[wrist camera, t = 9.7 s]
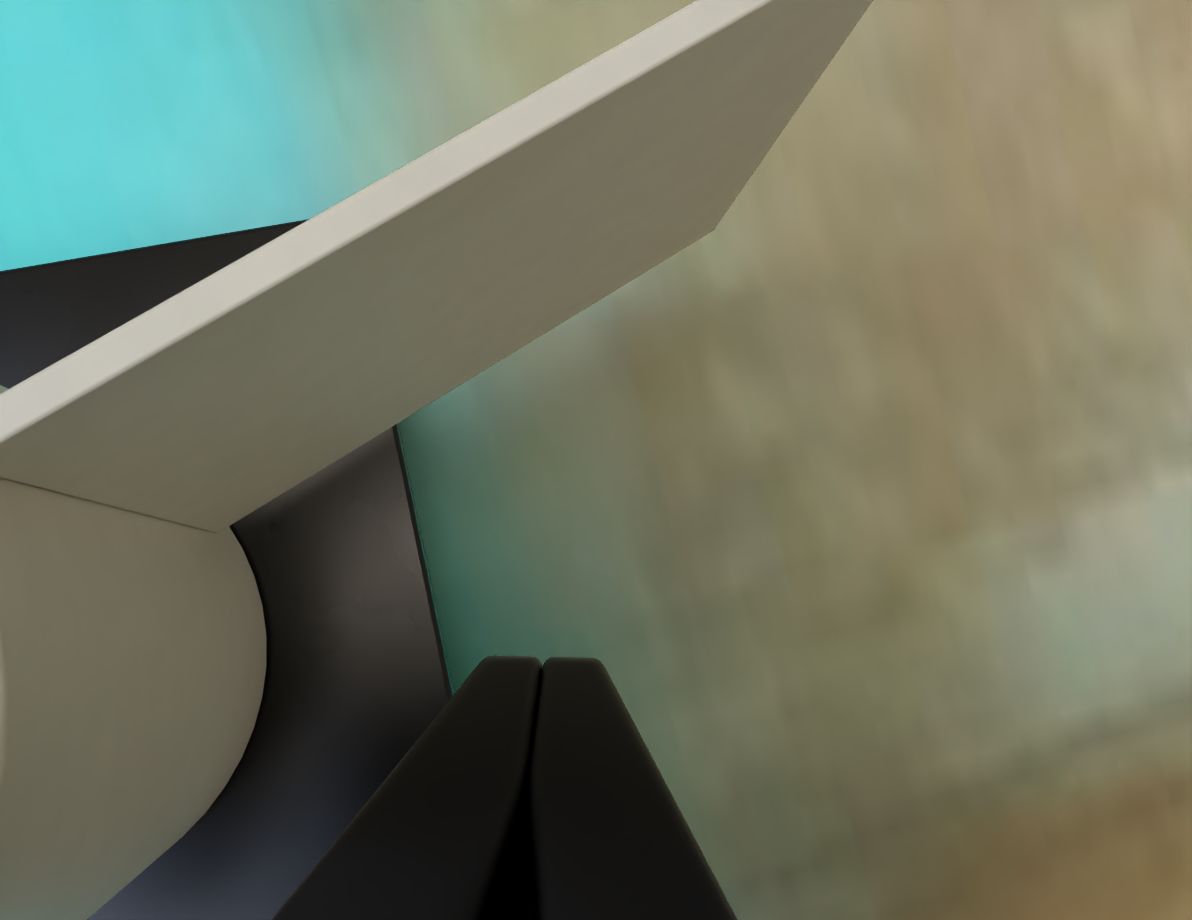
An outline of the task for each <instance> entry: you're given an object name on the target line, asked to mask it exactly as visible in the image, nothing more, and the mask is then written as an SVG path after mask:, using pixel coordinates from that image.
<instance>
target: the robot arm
mask: <svg viewBox="0 0 1192 920" xmlns="http://www.w3.org/2000/svg"><path fill="white" fill-rule="evenodd" d="M272 920H737V918H736V916H735V914H734V912H733V910H732V908H731V906H730V905H729V903H728V901H727V899H726V897H725V895H724V893H723V891H722V889H721V887H720V886H719V884H718V882H717V880H716V878H715V876H714V874H713V872H712V870H711V868H710V867H709V865H708V863H707V861H706V859H705V857H704V855H703V853H702V851H701V849H700V847H699V846H698V844H697V842H696V840H695V838H694V836H693V834H692V832H691V830H690V828H689V827H688V825H687V823H686V821H685V819H684V817H683V815H682V813H681V811H680V809H679V807H678V806H677V804H676V802H675V800H674V798H673V796H672V794H671V792H670V790H669V788H668V787H667V785H666V783H665V781H664V779H663V777H662V775H661V773H660V771H659V769H658V767H657V766H656V764H655V762H654V760H653V758H652V756H651V754H650V752H649V750H648V748H647V747H646V745H645V743H644V741H643V739H642V737H641V735H640V733H639V731H638V729H637V727H636V726H635V724H634V722H633V720H632V718H631V716H630V714H629V712H628V710H627V708H626V707H625V705H624V703H623V701H622V699H621V697H620V695H619V693H618V691H617V689H616V688H615V686H614V684H613V682H612V680H611V678H610V676H609V674H608V672H607V670H606V668H605V667H604V665H603V664H602V663H601V662H600V661H599V660H597V659H595V658H580V657H550V658H549V659H547V660H546V661H545V663H544V664H543V668H542V663H541V662H540V660H539V659H538V658H536V657H533V656H497V655H493V656H488V657H486V658H485V659H483V660H482V661H481V662H480V663H479V665H478V666H477V667H476V668H475V669H474V671H473V672H472V673H471V674H470V676H469V677H468V678H467V679H466V681H465V682H464V683H463V684H462V686H461V687H460V688H459V689H458V690H457V692H456V693H455V694H454V695H453V697H452V698H451V699H450V700H449V702H448V703H447V704H446V705H445V706H444V708H443V709H442V710H441V711H440V713H439V714H438V715H437V716H436V718H435V719H434V720H433V721H432V722H431V724H430V725H429V726H428V727H427V729H426V730H425V731H424V732H423V734H422V735H421V736H420V737H419V738H418V740H417V741H416V742H415V743H414V745H413V746H412V747H411V748H410V750H409V751H408V752H407V753H406V754H405V756H404V757H403V758H402V759H401V761H400V762H399V763H398V764H397V766H396V767H395V768H394V769H393V770H392V772H391V773H390V774H389V775H388V777H387V778H386V779H385V780H384V782H383V783H382V784H381V785H380V787H379V788H378V789H377V790H376V791H375V793H374V794H373V795H372V796H371V798H370V799H369V800H368V801H367V803H366V804H365V805H364V806H363V807H362V809H361V810H360V811H359V812H358V814H357V815H356V816H355V817H354V819H353V820H352V821H351V822H350V823H349V825H348V826H347V827H346V828H345V830H344V831H343V832H342V833H341V835H340V836H339V837H338V838H337V839H336V841H335V842H334V843H333V844H332V846H331V847H330V848H329V849H328V851H327V852H326V853H325V854H324V855H323V857H322V858H321V859H320V860H319V862H318V863H317V864H316V865H315V867H314V868H313V869H312V870H311V871H310V873H309V874H308V875H307V876H306V878H305V879H304V880H303V881H302V883H301V884H300V885H299V886H298V888H297V889H296V890H295V891H294V892H293V894H292V895H291V896H290V897H289V899H288V900H287V901H286V902H285V904H284V905H283V906H282V907H281V908H280V910H279V911H278V912H277V913H276V915H275V916H274V917H273V918H272Z"/></svg>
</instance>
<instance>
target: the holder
mask: <svg viewBox="0 0 1192 920" xmlns="http://www.w3.org/2000/svg"><path fill="white" fill-rule="evenodd" d="M308 220H309V219H308ZM306 221H307V220H302V221H296V222H290V223H284V224H278V225H272V226H266V227H260V228H254V229H248V230H242V231H236V232H231V233H225V234H219V235H213V236H207V237H201V238H195V239H189V240H183V241H177V242H171V243H165V244H159V245H153V246H148V247H142V248H136V249H130V250H124V251H118V252H112V253H106V254H100V255H94V256H88V257H82V258H76V259H70V260H65V261H59V262H53V263H47V264H41V265H35V266H29V267H23V268H17V269H11V270H5V271H0V385H1V386H3V387H6V388H8V389H10V388H12V387H14V386H15V385H17V384H19V383H21V382H22V381H24V380H26V379H28V378H30V377H31V376H33V375H35V374H37V373H38V372H40V371H42V370H44V369H45V368H47V367H49V366H51V365H53V364H54V363H56V362H58V361H60V360H61V359H63V358H65V357H67V356H68V355H70V354H72V353H74V352H76V351H77V350H79V349H81V348H83V347H84V346H86V345H88V344H90V343H91V342H93V341H95V340H97V339H99V338H100V337H102V336H104V335H106V334H107V333H109V332H111V331H113V330H115V329H116V328H118V327H120V326H122V325H123V324H125V323H127V322H129V321H130V320H132V319H134V318H136V317H138V316H139V315H141V314H143V313H145V312H146V311H148V310H150V309H152V308H153V307H155V306H157V305H159V304H161V303H162V302H164V301H166V300H168V299H169V298H171V297H173V296H175V295H176V294H178V293H180V292H182V291H184V290H185V289H187V288H189V287H191V286H192V285H194V284H196V283H198V282H199V281H201V280H203V279H205V278H207V277H208V276H210V275H212V274H214V273H215V272H217V271H219V270H221V269H222V268H224V267H226V266H228V265H230V264H231V263H233V262H235V261H237V260H238V259H240V258H242V257H244V256H245V255H247V254H249V253H251V252H253V251H254V250H256V249H258V248H260V247H261V246H263V245H265V244H267V243H268V242H270V241H272V240H274V239H276V238H277V237H279V236H281V235H283V234H284V233H286V232H288V231H290V230H291V229H293V228H295V227H297V226H299V225H300V224H302V223H304V222H306ZM229 527H230V529H231V530H232V532H233V534H234V535H235V537H236V539H237V540H238V542H239V544H240V545H241V547H242V549H243V551H244V553H245V556H246V558H247V560H248V563H249V565H250V567H251V570H252V572H253V574H254V577H255V580H256V584H257V588H258V591H259V595H260V599H261V602H262V606H263V614H264V621H265V629H266V673H265V681H264V688H263V695H262V700H261V704H260V708H259V711H258V715H257V719H256V722H255V726H254V729H253V732H252V734H251V736H250V739H249V741H248V744H247V746H246V749H245V751H244V753H243V756H242V758H241V760H240V762H239V763H238V765H237V767H236V769H235V770H234V772H233V774H232V776H231V777H230V779H229V781H228V783H227V784H226V786H225V787H224V789H223V790H222V792H221V793H220V794H219V796H218V797H217V798H216V800H215V801H214V802H213V804H212V805H211V806H210V808H209V809H208V810H207V812H206V813H205V814H204V815H203V816H202V817H201V818H200V819H199V820H198V821H197V822H196V823H195V824H194V825H193V826H192V827H191V828H190V829H189V831H188V832H187V833H186V834H185V835H184V836H183V837H182V838H180V839H179V840H178V841H177V842H176V843H175V844H174V845H172V846H171V847H170V848H169V849H168V850H167V851H165V852H164V853H163V854H162V855H161V856H160V857H159V858H157V859H156V860H155V861H154V862H153V863H152V864H151V865H149V866H148V867H147V868H146V869H145V870H144V871H142V872H141V873H140V874H139V875H138V876H137V877H136V878H134V879H133V880H132V881H131V882H130V883H129V884H127V885H126V886H125V887H124V888H123V889H122V890H121V891H119V892H118V893H117V894H116V895H115V896H114V897H112V898H111V899H110V900H109V901H108V902H107V903H106V904H104V905H103V906H102V907H101V908H100V909H99V910H97V911H96V912H95V913H94V914H93V915H92V916H91V917H89V918H88V919H87V920H272V918H273V917H274V916H275V915H276V913H277V912H278V911H279V910H280V908H281V907H282V906H283V905H284V904H285V902H286V901H287V900H288V899H289V897H290V896H291V895H292V894H293V892H294V891H295V890H296V889H297V888H298V886H299V885H300V884H301V883H302V881H303V880H304V879H305V878H306V876H307V875H308V874H309V873H310V871H311V870H312V869H313V868H314V867H315V865H316V864H317V863H318V862H319V860H320V859H321V858H322V857H323V855H324V854H325V853H326V852H327V851H328V849H329V848H330V847H331V846H332V844H333V843H334V842H335V841H336V839H337V838H338V837H339V836H340V835H341V833H342V832H343V831H344V830H345V828H346V827H347V826H348V825H349V823H350V822H351V821H352V820H353V819H354V817H355V816H356V815H357V814H358V812H359V811H360V810H361V809H362V807H363V806H364V805H365V804H366V803H367V801H368V800H369V799H370V798H371V796H372V795H373V794H374V793H375V791H376V790H377V789H378V788H379V787H380V785H381V784H382V783H383V782H384V780H385V779H386V778H387V777H388V775H389V774H390V773H391V772H392V770H393V769H394V768H395V767H396V766H397V764H398V763H399V762H400V761H401V759H402V758H403V757H404V756H405V754H406V753H407V752H408V751H409V750H410V748H411V747H412V746H413V745H414V743H415V742H416V741H417V740H418V738H419V737H420V736H421V735H422V734H423V732H424V731H425V730H426V729H427V727H428V726H429V725H430V724H431V722H432V721H433V720H434V719H435V718H436V716H437V715H438V714H439V713H440V711H441V710H442V709H443V708H444V706H445V705H446V704H447V703H448V702H449V700H450V699H451V698H452V697H453V695H454V692H453V687H452V683H451V678H450V673H449V668H448V663H447V658H446V653H445V649H444V644H443V639H442V634H441V629H440V624H439V619H438V615H437V610H436V605H435V600H434V595H433V590H432V585H431V581H430V576H429V571H428V566H427V561H426V556H425V551H424V547H423V542H422V537H421V532H420V527H419V522H418V517H417V513H416V508H415V503H414V498H413V493H412V488H411V483H410V479H409V474H408V469H407V464H406V459H405V454H404V449H403V444H402V440H401V435H400V430H399V425H398V423H397V424H395V425H394V426H392V427H391V428H389V429H387V430H386V431H384V432H382V433H381V434H379V435H377V436H376V437H374V438H373V439H371V440H369V441H368V442H366V443H364V444H363V445H361V446H359V447H358V448H356V449H355V450H353V451H351V452H350V453H348V454H346V455H345V456H343V457H341V458H340V459H338V460H336V461H335V462H333V463H332V464H330V465H328V466H327V467H325V468H323V469H322V470H320V471H318V472H317V473H315V474H314V475H312V476H310V477H309V478H307V479H305V480H304V481H302V482H300V483H299V484H297V485H296V486H294V487H292V488H291V489H289V490H287V491H286V492H284V493H282V494H281V495H279V496H278V497H276V498H274V499H273V500H271V501H269V502H268V503H266V504H264V505H263V506H261V507H259V508H258V509H256V510H255V511H253V512H251V513H250V514H248V515H246V516H245V517H243V518H241V519H240V520H238V521H237V522H235V523H233V524H232V525H230V526H229Z"/></svg>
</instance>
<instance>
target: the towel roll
mask: <svg viewBox="0 0 1192 920" xmlns="http://www.w3.org/2000/svg"><path fill="white" fill-rule="evenodd" d="M872 1H873V0H697V1H695V2H693V3H691V4H690V5H688V6H686V7H684V8H683V9H681V10H679V11H677V12H676V13H674V14H672V15H670V16H668V17H667V18H665V19H663V20H661V21H660V22H658V23H656V24H654V25H652V26H651V27H649V28H647V29H645V30H644V31H642V32H640V33H638V34H637V35H635V36H633V37H631V38H629V39H628V40H626V41H624V42H622V43H621V44H619V45H617V46H615V47H614V48H612V49H610V50H608V51H606V52H605V53H603V54H601V55H599V56H598V57H596V58H594V59H592V60H591V61H589V62H587V63H585V64H583V65H582V66H580V67H578V68H576V69H575V70H573V71H571V72H569V73H568V74H566V75H564V76H562V77H560V78H559V79H557V80H555V81H553V82H552V83H550V84H548V85H546V86H545V87H543V88H541V89H539V90H537V91H536V92H534V93H532V94H530V95H529V96H527V97H525V98H523V99H522V100H520V101H518V102H516V103H514V104H513V105H511V106H509V107H507V108H506V109H504V110H502V111H500V112H499V113H497V114H495V115H493V116H491V117H490V118H488V119H486V120H484V121H483V122H481V123H479V124H477V125H476V126H474V127H472V128H470V129H468V130H467V131H465V132H463V133H461V134H460V135H458V136H456V137H454V138H453V139H451V140H449V141H447V142H445V143H444V144H442V145H440V146H438V147H437V148H435V149H433V150H431V151H430V152H428V153H426V154H424V155H422V156H421V157H419V158H417V159H415V160H414V161H412V162H410V163H408V164H407V165H405V166H403V167H401V168H399V169H398V170H396V171H394V172H392V173H391V174H389V175H387V176H385V177H384V178H382V179H380V180H378V181H376V182H375V183H373V184H371V185H369V186H368V187H366V188H364V189H362V190H360V191H359V192H357V193H355V194H353V195H352V196H350V197H348V198H346V199H345V200H343V201H341V202H339V203H337V204H336V205H334V206H332V207H330V208H329V209H327V210H325V211H323V212H322V213H320V214H318V215H316V216H314V217H313V218H311V219H309V220H307V221H306V222H304V223H302V224H300V225H299V226H297V227H295V228H293V229H291V230H290V231H288V232H286V233H284V234H283V235H281V236H279V237H277V238H276V239H274V240H272V241H270V242H268V243H267V244H265V245H263V246H261V247H260V248H258V249H256V250H254V251H253V252H251V253H249V254H247V255H245V256H244V257H242V258H240V259H238V260H237V261H235V262H233V263H231V264H230V265H228V266H226V267H224V268H222V269H221V270H219V271H217V272H215V273H214V274H212V275H210V276H208V277H207V278H205V279H203V280H201V281H199V282H198V283H196V284H194V285H192V286H191V287H189V288H187V289H185V290H184V291H182V292H180V293H178V294H176V295H175V296H173V297H171V298H169V299H168V300H166V301H164V302H162V303H161V304H159V305H157V306H155V307H153V308H152V309H150V310H148V311H146V312H145V313H143V314H141V315H139V316H138V317H136V318H134V319H132V320H130V321H129V322H127V323H125V324H123V325H122V326H120V327H118V328H116V329H115V330H113V331H111V332H109V333H107V334H106V335H104V336H102V337H100V338H99V339H97V340H95V341H93V342H91V343H90V344H88V345H86V346H84V347H83V348H81V349H79V350H77V351H76V352H74V353H72V354H70V355H68V356H67V357H65V358H63V359H61V360H60V361H58V362H56V363H54V364H53V365H51V366H49V367H47V368H45V369H44V370H42V371H40V372H38V373H37V374H35V375H33V376H31V377H30V378H28V379H26V380H24V381H22V382H21V383H19V384H17V385H15V386H14V387H12V388H10V389H8V388H6V387H3V386H1V385H0V920H87V919H88V918H89V917H91V916H92V915H93V914H94V913H95V912H96V911H97V910H99V909H100V908H101V907H102V906H103V905H104V904H106V903H107V902H108V901H109V900H110V899H111V898H112V897H114V896H115V895H116V894H117V893H118V892H119V891H121V890H122V889H123V888H124V887H125V886H126V885H127V884H129V883H130V882H131V881H132V880H133V879H134V878H136V877H137V876H138V875H139V874H140V873H141V872H142V871H144V870H145V869H146V868H147V867H148V866H149V865H151V864H152V863H153V862H154V861H155V860H156V859H157V858H159V857H160V856H161V855H162V854H163V853H164V852H165V851H167V850H168V849H169V848H170V847H171V846H172V845H174V844H175V843H176V842H177V841H178V840H179V839H180V838H182V837H183V836H184V835H185V834H186V833H187V832H188V831H189V829H190V828H191V827H192V826H193V825H194V824H195V823H196V822H197V821H198V820H199V819H200V818H201V817H202V816H203V815H204V814H205V813H206V812H207V810H208V809H209V808H210V806H211V805H212V804H213V802H214V801H215V800H216V798H217V797H218V796H219V794H220V793H221V792H222V790H223V789H224V787H225V786H226V784H227V783H228V781H229V779H230V777H231V776H232V774H233V772H234V770H235V769H236V767H237V765H238V763H239V762H240V760H241V758H242V756H243V753H244V751H245V749H246V746H247V744H248V741H249V739H250V736H251V734H252V732H253V729H254V726H255V722H256V719H257V715H258V711H259V708H260V704H261V700H262V695H263V688H264V681H265V673H266V629H265V621H264V614H263V606H262V602H261V599H260V595H259V591H258V588H257V584H256V580H255V577H254V574H253V572H252V570H251V567H250V565H249V563H248V560H247V558H246V556H245V553H244V551H243V549H242V547H241V545H240V544H239V542H238V540H237V539H236V537H235V535H234V534H233V532H232V530H231V529H230V527H229V526H230V525H232V524H233V523H235V522H237V521H238V520H240V519H241V518H243V517H245V516H246V515H248V514H250V513H251V512H253V511H255V510H256V509H258V508H259V507H261V506H263V505H264V504H266V503H268V502H269V501H271V500H273V499H274V498H276V497H278V496H279V495H281V494H282V493H284V492H286V491H287V490H289V489H291V488H292V487H294V486H296V485H297V484H299V483H300V482H302V481H304V480H305V479H307V478H309V477H310V476H312V475H314V474H315V473H317V472H318V471H320V470H322V469H323V468H325V467H327V466H328V465H330V464H332V463H333V462H335V461H336V460H338V459H340V458H341V457H343V456H345V455H346V454H348V453H350V452H351V451H353V450H355V449H356V448H358V447H359V446H361V445H363V444H364V443H366V442H368V441H369V440H371V439H373V438H374V437H376V436H377V435H379V434H381V433H382V432H384V431H386V430H387V429H389V428H391V427H392V426H394V425H395V424H397V423H399V422H400V421H402V420H404V419H405V418H407V417H409V416H410V415H412V414H414V413H415V412H417V411H418V410H420V409H422V408H423V407H425V406H427V405H428V404H430V403H432V402H433V401H435V400H436V399H438V398H440V397H441V396H443V395H445V394H446V393H448V392H450V391H451V390H453V389H454V388H456V387H458V386H459V385H461V384H463V383H464V382H466V381H468V380H469V379H471V378H472V377H474V376H476V375H477V374H479V373H481V372H482V371H484V370H486V369H487V368H489V367H491V366H492V365H494V364H495V363H497V362H499V361H500V360H502V359H504V358H505V357H507V356H509V355H510V354H512V353H513V352H515V351H517V350H518V349H520V348H522V347H523V346H525V345H527V344H528V343H530V342H531V341H533V340H535V339H536V338H538V337H540V336H541V335H543V334H545V333H546V332H548V331H550V330H551V329H553V328H554V327H556V326H558V325H559V324H561V323H563V322H564V321H566V320H568V319H569V318H571V317H572V316H574V315H576V314H577V313H579V312H581V311H582V310H584V309H586V308H587V307H589V306H590V305H592V304H594V303H595V302H597V301H599V300H600V299H602V298H604V297H605V296H607V295H609V294H610V293H612V292H613V291H615V290H617V289H618V288H620V287H622V286H623V285H625V284H627V283H628V282H630V281H631V280H633V279H635V278H636V277H638V276H640V275H641V274H643V273H645V272H646V271H648V270H649V269H651V268H653V267H654V266H656V265H658V264H659V263H661V262H663V261H664V260H666V259H667V258H669V257H671V256H672V255H674V254H676V253H677V252H679V251H681V250H682V249H684V248H686V247H687V246H689V245H690V244H692V243H694V242H695V241H697V240H699V239H700V238H702V237H704V236H705V235H707V234H708V233H710V232H712V231H713V230H714V229H715V227H716V226H717V225H718V223H719V222H720V220H721V219H722V217H723V216H724V214H725V213H726V212H727V210H728V209H729V207H730V206H731V204H732V203H733V201H734V200H735V199H736V197H737V196H738V194H739V193H740V191H741V190H742V188H743V187H744V186H745V184H746V183H747V181H748V180H749V178H750V177H751V176H752V174H753V173H754V171H755V170H756V168H757V167H758V165H759V164H760V163H761V161H762V160H763V158H764V157H765V155H766V154H767V152H768V151H769V150H770V148H771V147H772V145H773V144H774V142H775V141H776V139H777V138H778V137H779V135H780V134H781V132H782V131H783V129H784V128H785V126H786V125H787V124H788V122H789V121H790V119H791V118H792V116H793V115H794V114H795V112H796V111H797V109H798V108H799V106H800V105H801V103H802V102H803V101H804V99H805V98H806V96H807V95H808V93H809V92H810V90H811V89H812V88H813V86H814V85H815V83H816V82H817V80H818V79H819V77H820V76H821V75H822V73H823V72H824V70H825V69H826V67H827V66H828V64H829V63H830V62H831V60H832V59H833V57H834V56H835V54H836V53H837V51H838V50H839V49H840V47H841V46H842V44H843V43H844V41H845V40H846V39H847V37H848V36H849V34H850V33H851V31H852V30H853V28H854V27H855V26H856V24H857V23H858V21H859V20H860V18H861V17H862V15H863V14H864V13H865V11H866V10H867V8H868V7H869V5H870V4H871V2H872Z"/></svg>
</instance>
